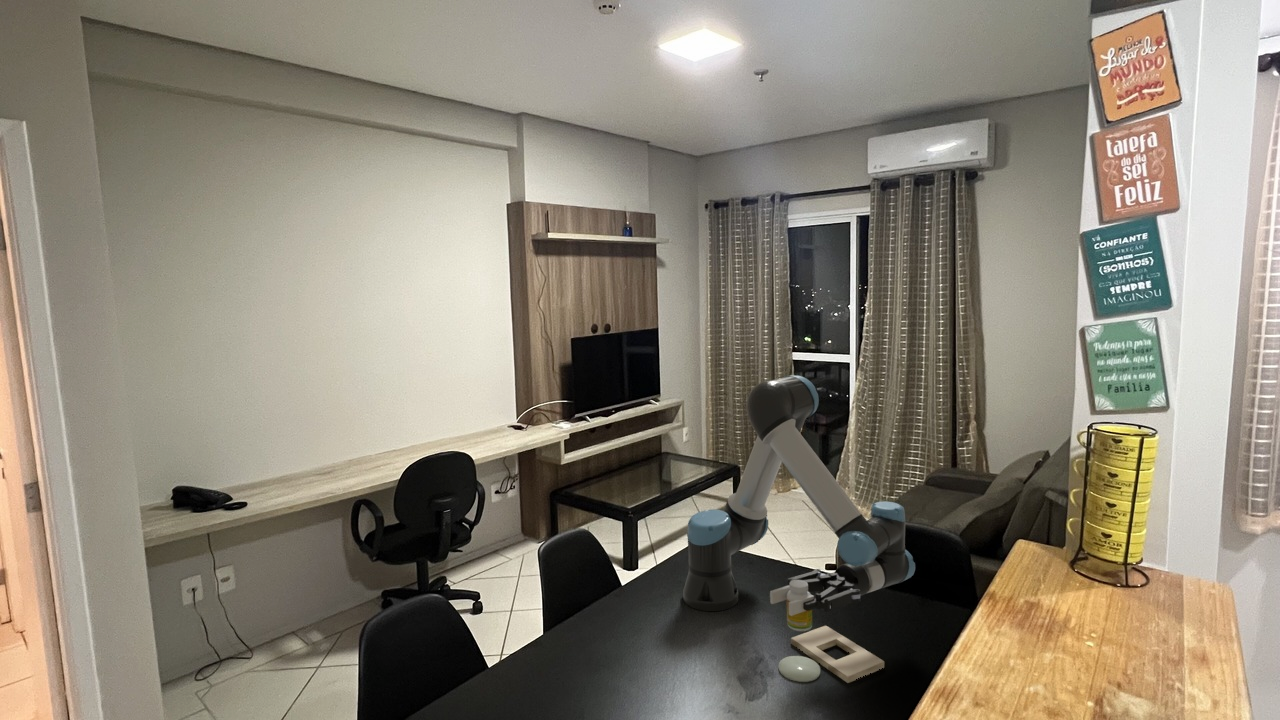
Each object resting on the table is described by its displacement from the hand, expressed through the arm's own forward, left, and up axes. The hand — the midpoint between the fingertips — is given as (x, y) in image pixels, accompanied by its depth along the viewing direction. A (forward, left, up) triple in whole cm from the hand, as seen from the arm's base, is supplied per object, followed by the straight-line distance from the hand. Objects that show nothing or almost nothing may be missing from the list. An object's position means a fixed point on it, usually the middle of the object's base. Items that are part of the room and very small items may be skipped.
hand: (780, 603), depth 138 cm
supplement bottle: (0, +5, -7) cm, 9 cm away
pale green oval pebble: (0, +5, -17) cm, 18 cm away
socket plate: (0, +16, -17) cm, 23 cm away
